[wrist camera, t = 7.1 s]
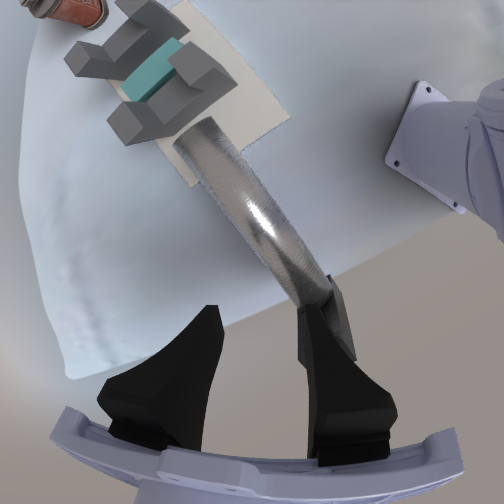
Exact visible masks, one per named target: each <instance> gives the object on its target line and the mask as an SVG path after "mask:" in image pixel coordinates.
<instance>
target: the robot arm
mask: <svg viewBox="0 0 504 504" xmlns="http://www.w3.org/2000/svg"><path fill="white" fill-rule="evenodd" d="M426 87H428V89H429V93H428V92H427V91H426ZM396 160H397V161H398V165H397V166H394V162H395V161H396ZM385 163H386V164H387V165H388V166H389V167H391V168H393V169H394V170H396V171H398V172H399V173H401V174H402V175H404V176H406V177H407V178H409V179H410V180H412V181H413V182H415V183H416V184H418V185H419V186H421V187H422V188H424V189H425V190H427V191H428V192H430V193H431V194H433V195H434V196H435V197H437V198H438V199H440V200H441V201H442V202H444V203H445V204H447V205H448V206H449V207H451V208H452V209H453V210H454V211H456V212H457V213H459V214H460V215H462V214H464V212H465V211H466V209H468V210H469V211H471V212H472V213H474V214H475V215H477V216H478V217H479V218H481V219H482V220H484V221H485V222H486V223H488V224H489V225H490V226H492V227H493V228H494V229H495V230H496V232H497V236H498V239H500V240H501V241H502V242H503V243H504V78H503V79H501V80H498V81H495V82H493V83H491V84H489V85H488V86H486V87H485V88H484V89H483V90H482V91H481V93H480V96H479V99H478V100H477V102H469V101H450V100H449V99H448V98H446V97H445V96H444V95H443V94H441V93H440V92H439V91H438V90H436V89H435V88H434V87H432V86H431V85H430V84H428V83H427V82H426V81H424V80H420V81H418V82H417V84H416V86H415V89H414V92H413V94H412V97H411V99H410V102H409V104H408V106H407V109H406V111H405V114H404V116H403V118H402V121H401V123H400V125H399V127H398V130H397V132H396V134H395V136H394V139H393V141H392V143H391V145H390V147H389V150H388V152H387V154H386V156H385ZM454 202H456V203H455V205H454V206H453V204H454ZM224 334H225V333H224V329H223V325H222V321H221V317H220V313H219V308H218V305H206V306H205V307H204V308H203V309H202V310H201V311H200V313H199V314H198V315H197V316H196V317H195V318H194V319H193V320H192V321H191V322H190V323H189V325H188V326H187V327H186V328H185V329H184V330H183V331H182V332H181V333H180V334H179V335H178V336H177V337H176V338H174V339H173V340H172V341H171V342H170V343H169V344H168V345H167V346H165V347H164V348H163V349H162V350H160V351H159V352H158V353H156V354H155V355H153V356H152V357H150V358H149V359H147V360H146V361H144V362H143V363H141V364H139V365H137V366H136V367H134V368H132V369H130V370H128V371H126V372H124V373H121V374H119V375H116V376H114V377H111V378H109V379H107V381H106V383H105V384H104V386H103V388H102V390H101V391H100V393H99V395H98V397H97V401H98V404H99V405H100V407H101V408H102V409H103V410H104V411H105V412H106V413H107V414H108V416H109V417H110V418H111V419H112V420H113V421H112V423H111V425H110V427H109V428H108V427H105V426H102V425H100V424H97V423H95V422H92V421H90V420H89V419H88V417H87V416H85V415H84V414H83V413H81V412H80V411H77V410H75V409H73V408H71V407H68V406H66V408H65V409H64V411H63V413H62V414H61V417H60V418H59V420H58V422H57V424H56V425H55V428H54V429H53V431H52V433H51V435H50V437H49V439H50V440H51V441H52V442H53V443H55V444H56V445H57V446H58V447H60V448H61V449H62V450H64V451H65V452H67V453H68V454H69V455H71V456H72V457H74V458H75V459H77V460H79V461H81V462H83V463H84V464H86V465H88V466H90V467H92V468H94V469H96V470H98V471H101V472H103V473H105V474H107V475H109V476H111V477H113V478H116V479H118V480H120V481H123V482H125V483H127V484H130V485H132V486H135V487H137V488H139V489H138V492H137V495H136V498H135V501H134V504H385V503H389V502H393V501H397V500H401V499H404V498H407V497H411V496H414V495H418V494H421V493H424V492H427V491H430V490H433V489H435V488H438V487H440V486H442V485H444V484H446V483H447V482H449V481H451V480H453V479H454V478H456V477H457V476H459V475H461V474H462V473H464V471H465V470H464V465H463V460H462V455H461V451H460V447H459V442H458V439H457V434H456V431H455V428H454V427H452V428H449V429H446V430H443V431H440V432H436V433H434V434H431V435H429V436H428V437H427V438H426V439H425V440H424V441H423V442H421V443H417V444H413V445H409V446H405V447H400V448H395V449H391V450H390V445H389V439H390V431H389V430H390V428H391V427H392V425H393V424H394V423H395V421H396V419H397V417H398V415H397V409H396V406H395V403H394V401H393V398H392V397H391V394H390V393H389V392H387V391H386V390H384V389H383V388H382V387H380V386H379V385H378V384H376V383H375V382H374V381H373V380H372V379H370V378H369V377H368V376H367V375H366V374H365V373H364V372H363V371H362V370H361V369H360V368H359V367H358V366H357V365H356V364H355V363H354V362H353V361H352V359H351V358H350V357H349V356H348V355H347V353H346V352H345V351H344V350H343V348H342V347H341V345H340V344H339V342H338V341H337V340H336V338H335V336H334V335H333V333H332V331H331V330H330V328H329V326H328V324H327V323H326V321H325V319H324V317H323V314H322V312H321V309H320V306H319V305H318V304H305V320H304V349H305V360H306V368H307V377H308V385H309V428H308V453H307V459H264V458H248V457H237V456H227V455H219V454H213V453H206V452H201V445H202V434H203V427H204V419H205V413H206V407H207V401H208V396H209V391H210V387H211V384H212V381H213V377H214V374H215V371H216V368H217V365H218V361H219V358H220V355H221V352H222V347H223V341H224Z"/></svg>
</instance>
